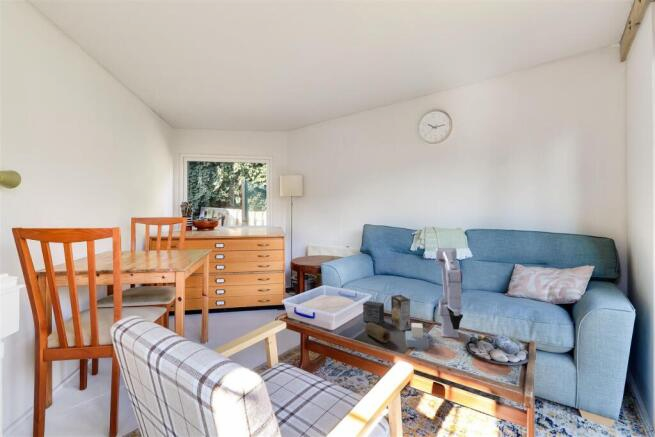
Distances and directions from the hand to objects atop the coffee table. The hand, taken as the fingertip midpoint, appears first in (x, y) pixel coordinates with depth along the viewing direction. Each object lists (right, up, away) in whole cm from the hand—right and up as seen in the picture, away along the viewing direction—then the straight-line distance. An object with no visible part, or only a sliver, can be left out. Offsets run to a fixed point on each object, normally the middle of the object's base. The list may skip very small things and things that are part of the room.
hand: (454, 325), depth 139 cm
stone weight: (-33, -11, +13) cm, 37 cm away
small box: (-31, -10, +35) cm, 48 cm away
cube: (-15, -7, +7) cm, 18 cm away
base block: (-15, -11, +7) cm, 20 cm away
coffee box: (-18, -10, +26) cm, 33 cm away
